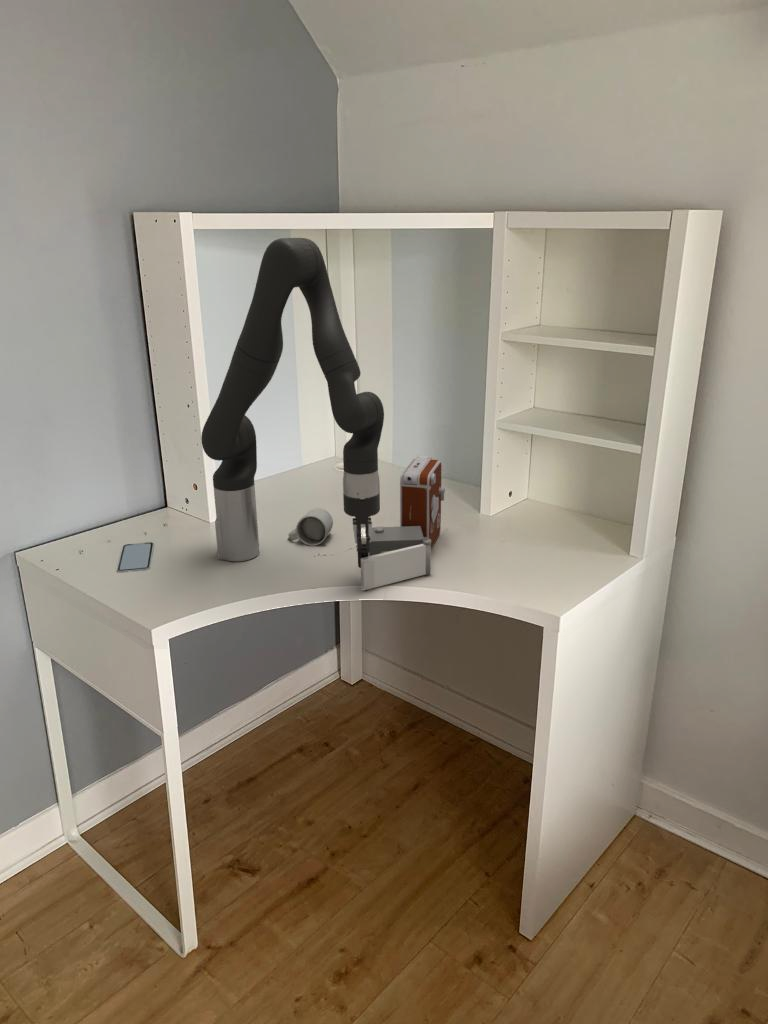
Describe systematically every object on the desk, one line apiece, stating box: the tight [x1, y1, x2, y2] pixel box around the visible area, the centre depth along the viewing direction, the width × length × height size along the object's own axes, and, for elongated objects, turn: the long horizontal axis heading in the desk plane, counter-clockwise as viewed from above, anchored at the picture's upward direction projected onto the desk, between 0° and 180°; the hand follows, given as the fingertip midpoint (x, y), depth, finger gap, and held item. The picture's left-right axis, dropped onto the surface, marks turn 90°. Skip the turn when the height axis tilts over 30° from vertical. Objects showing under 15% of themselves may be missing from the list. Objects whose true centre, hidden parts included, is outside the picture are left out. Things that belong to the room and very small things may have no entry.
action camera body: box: [368, 526, 431, 556], centre depth 177 cm, size 14×10×9 cm
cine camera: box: [399, 455, 446, 550], centre depth 190 cm, size 9×19×20 cm, turn 164°
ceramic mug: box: [287, 507, 334, 547], centre depth 193 cm, size 11×8×8 cm
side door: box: [360, 544, 432, 591], centre depth 170 cm, size 17×2×7 cm, turn 119°
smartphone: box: [116, 541, 155, 573], centre depth 185 cm, size 7×1×15 cm
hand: (363, 566), depth 169 cm, fingers closed
